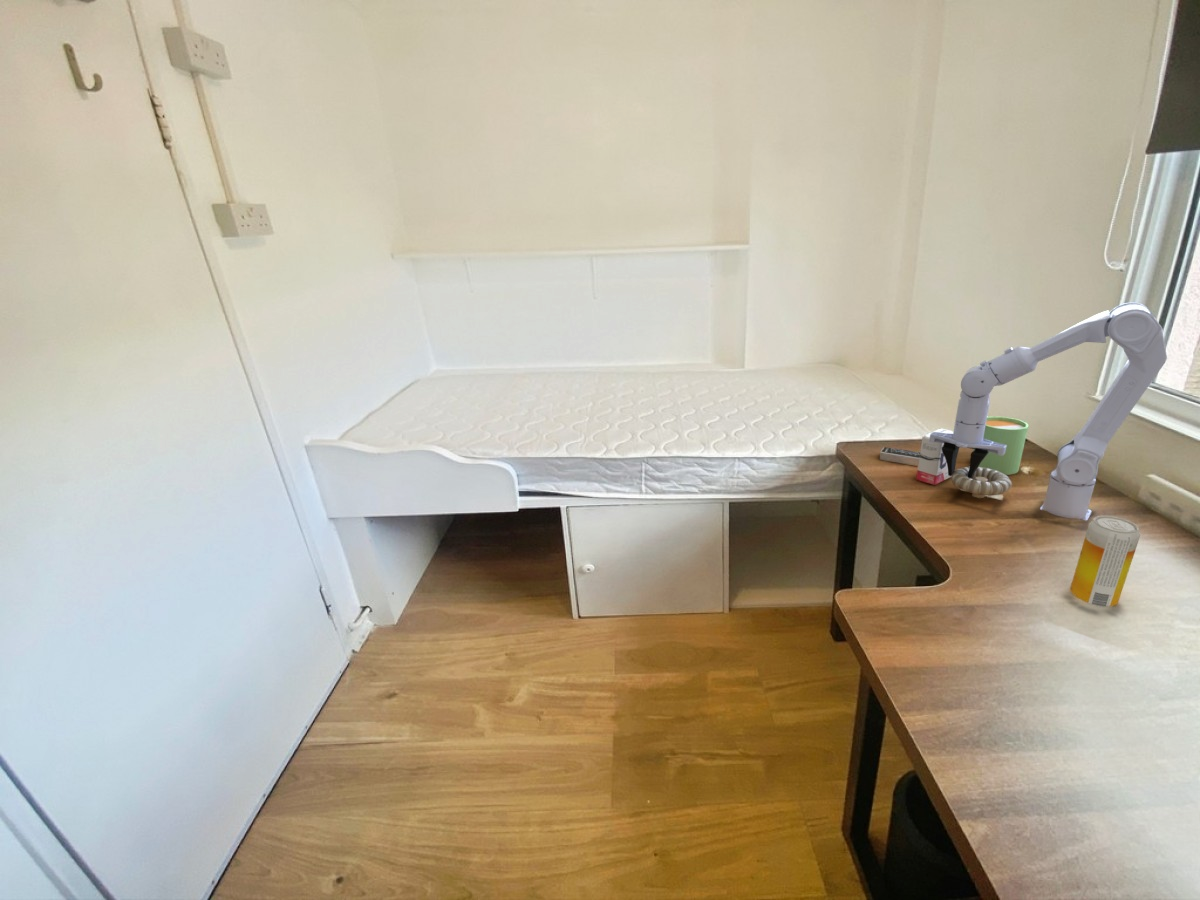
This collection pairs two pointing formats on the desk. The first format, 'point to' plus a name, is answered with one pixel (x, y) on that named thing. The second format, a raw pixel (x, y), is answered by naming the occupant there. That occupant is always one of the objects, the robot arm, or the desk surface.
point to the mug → (1005, 443)
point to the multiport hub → (900, 456)
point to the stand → (985, 495)
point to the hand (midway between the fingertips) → (960, 476)
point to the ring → (994, 486)
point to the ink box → (932, 460)
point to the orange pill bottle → (1105, 560)
